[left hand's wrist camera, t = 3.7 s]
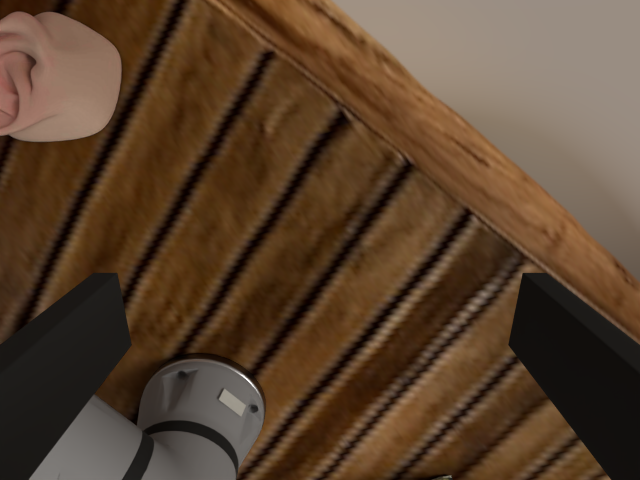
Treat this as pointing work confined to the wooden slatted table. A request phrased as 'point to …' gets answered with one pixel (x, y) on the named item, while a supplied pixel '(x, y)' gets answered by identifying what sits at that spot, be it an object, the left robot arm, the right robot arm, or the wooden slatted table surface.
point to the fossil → (443, 478)
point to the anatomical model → (55, 78)
